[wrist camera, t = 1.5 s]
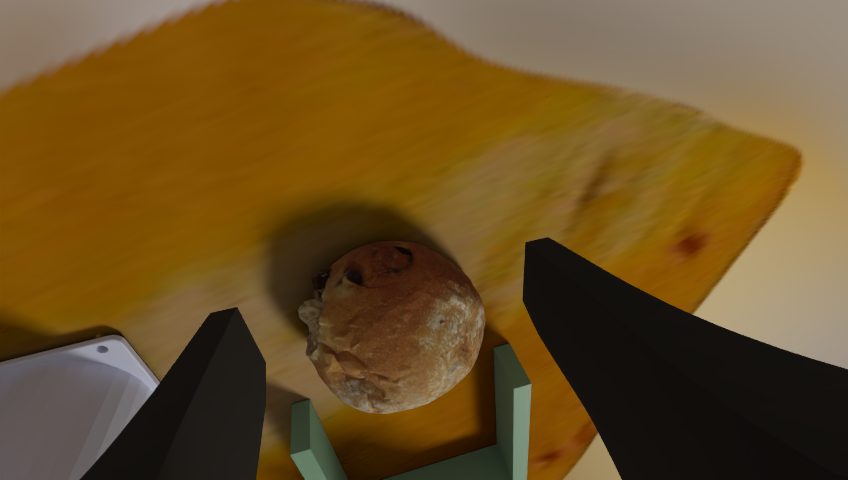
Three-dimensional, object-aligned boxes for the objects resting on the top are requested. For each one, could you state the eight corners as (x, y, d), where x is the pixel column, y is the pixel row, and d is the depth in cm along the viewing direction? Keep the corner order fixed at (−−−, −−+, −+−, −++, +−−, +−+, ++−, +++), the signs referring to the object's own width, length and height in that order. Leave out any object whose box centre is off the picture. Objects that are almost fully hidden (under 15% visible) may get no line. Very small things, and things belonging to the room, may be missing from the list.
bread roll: (349, 330, 30) (393, 439, 26) (244, 301, 21) (287, 459, 18) (462, 255, 29) (526, 359, 25) (400, 191, 20) (483, 336, 16)
